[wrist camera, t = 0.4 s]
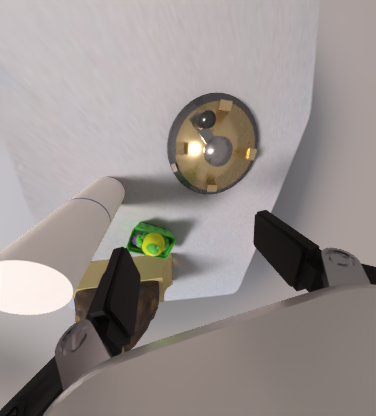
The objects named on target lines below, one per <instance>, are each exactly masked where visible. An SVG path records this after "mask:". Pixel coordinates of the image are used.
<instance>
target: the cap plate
mask: <svg viewBox="0 0 376 416" xmlns="http://www.w3.org/2000/svg"><path fill="white" fill-rule="evenodd" d="M220 99H222V100H229V101H233V103H232V104H234V105H236V106H238V107H239V108H241V109H242V110H243V111H244V112H245V113H246V115H247V116H248V118H249V119H250V121H251V124H252V126H253V130H254V136H255V146H254V149H257V142H258V141H257V128H256V124H255V121H254V118H253V116H252V114H251V112H250V111H249V109H248V108H247V107H246V105H245V104H243V103H242V102H241V101H240V100H239V99H237V98H236V97H233V96H231V95H228V94H224V93H209V94H206V95H202V96H200V97H198V98H196V99H194V100H193V101H191V102H190V103H189V104H188V105H186V106H185V107H184V108H183V109H182V110H181V112H180V113H179V114H178V115H177V117H176V118H175V120H174V122H173V124H172V126H171V129H170V132H169V136H168V143H167V153H168V159H169V162H170V166H171V168H172V170H173V172H174V174H175V176H176V177H177V179H178V180H179V181H180V182H181V183H182V184H183V185H184V186H186V187H187V188H188V189H190V190H192V191H194V192H197V193H202V194H215V193H220V192H223V191H225V190H227V189H229V188H231V187H233V186H234V185H235V184H237V183H238V182H239V181H240V180H241V179H242V178H243V177H244V176H245V174H246V173H247V171H248V170H249V168H250V166H251V164H252V162H253V160H251V161H250V164H249V166H248V167H247V169H246V171H245V172H244V173H243V175H242V176H241V177H240V178H239V179H238V180H237V181H235V182H234V183H233V184H231V185H229V186H227V187H225V188H222V189H219V190H216V192H207V191H206V190H204V189H200V188H197V187H195V186H194V185H192V184H191V183H189V182H188V181H187V180H186V179H185V177H184V176H183V175H182V173H181V171H180V170H179V167H178V165H177V162H176V157H175V142H176V137H177V134H178V131H179V129H180V127H181V125H182V123H183V122H184V120H185V119H186V118H187V117H188V115H189V114H190V113H191V112H193V111H194V110H195V109H197V108H198V107H200V106H201V105H204V104H206V103H209V102H213V101H219V100H220Z"/></svg>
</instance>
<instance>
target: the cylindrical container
mask: <svg viewBox="0 0 376 416" xmlns="http://www.w3.org/2000/svg"><path fill="white" fill-rule="evenodd" d="M124 196H125V190H124V187H123V185H122V184H121V183H120V182H119V181H118V180H116V179H114V178H111V177H101V178H98V179H97V180H95V181H94V182H93V183H91V184H90V185H89V186H87V187H86V188H85V189H83V190H82V191H81V192H79V193H78V194H77V195H75V196H74V197H72V198H71V199H70V200H68V201H67V202H66V203H64V204H63V205H62V206H60V207H59V208H58V209H56V210H55V211H54V212H52V213H51V214H50V215H48V216H47V217H46V218H44V219H43V220H42V221H40V222H39V223H38V224H37V225H35V226H34V227H32V228H31V229H30V230H28V231H27V232H26V233H25V234H23V235H22V236H21V237H19V238H18V239H16V240H15V241H14V242H12V243H11V244H10V245H9V246H7V247H6V248H4V249H3V250H2V251H1V252H0V311H3V312H7V313H12V314H22V315H35V314H43V313H48V312H52V311H55V310H57V309H60V308H61V307H63V306H65V305H66V304H67V303H68V302H69V301H70V300H71V298H72V296H73V294H74V293H75V291H76V289H77V287H78V285H79V283H80V281H81V279H82V277H83V275H84V273H85V271H86V270H87V268H88V266H89V264H90V262H91V260H92V258H93V256H94V254H95V252H96V250H97V248H98V247H99V245H100V243H101V241H102V239H103V237H104V235H105V233H106V231H107V229H108V227H109V225H110V224H111V222H112V220H113V218H114V216H115V214H116V212H117V210H118V208H119V206H120V204H121V203H122V201H123V199H124Z"/></svg>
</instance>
